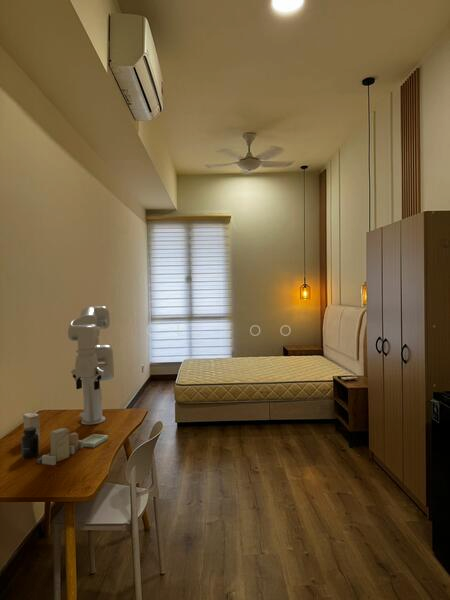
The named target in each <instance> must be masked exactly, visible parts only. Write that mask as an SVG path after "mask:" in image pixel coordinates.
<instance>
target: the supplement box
mask: <svg viewBox="0 0 450 600" xmlns="http://www.w3.org/2000/svg"><path fill="white" fill-rule="evenodd" d="M22 417H23V430H24V429H26V428H29V427H35V428H36V433H37V434H38V435H39V443H40V442H41V430H40V428H41V427H40V414H38V413H35V412H33V411H32V412H28V413H27V412H26V413H24V414H23V415H22Z"/></svg>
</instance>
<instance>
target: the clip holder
mask: <svg viewBox="0 0 450 600" xmlns="http://www.w3.org/2000/svg"><path fill="white" fill-rule="evenodd" d="M82 440H83V439H78V444H79V450H82V449H84V447H83V441H82ZM74 454H75V452H74V446H72V445H69V455H74ZM36 463H37V464H42V465H50V466H55V465H57V462H56V456H51V451H50V452H48V453H46V454H43V455H42V456H41V457H39V458H37V459H36Z"/></svg>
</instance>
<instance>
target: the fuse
mask: <svg viewBox="0 0 450 600" xmlns="http://www.w3.org/2000/svg"><path fill="white" fill-rule="evenodd" d="M78 440H79V433H77V432H71V433H69V445H72V446H74V453H76V452H78V451H79V450H80V448H79V444H78Z"/></svg>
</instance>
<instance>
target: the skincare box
mask: <svg viewBox="0 0 450 600" xmlns="http://www.w3.org/2000/svg"><path fill="white" fill-rule="evenodd" d="M69 430H70V429H69V428H66V427H60V428H57V429H55V430H51V431H50V432H49V435H50V436H49V437H50V440H49V441H50V443H49V444H50V452H51V456H56V463H57V462H59V461H63V460H65V459H67V458H69V457H70V454H69V435H70V433H69V432H70V431H69Z"/></svg>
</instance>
